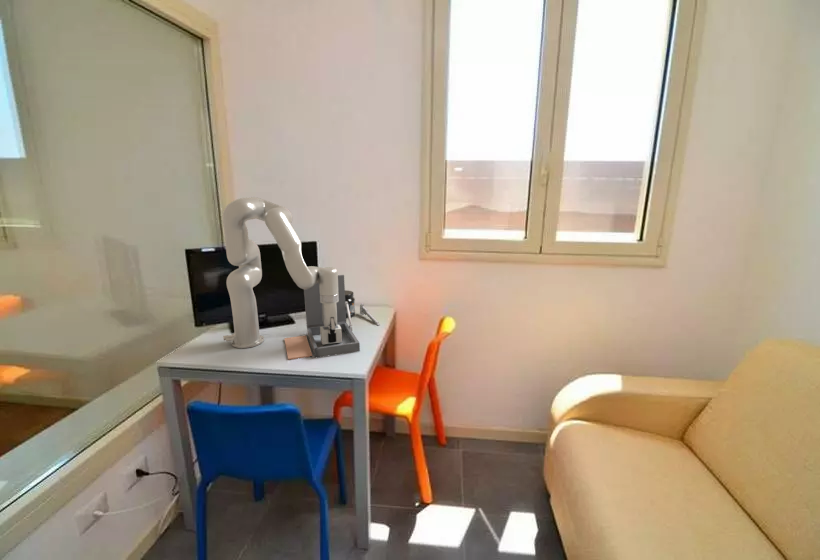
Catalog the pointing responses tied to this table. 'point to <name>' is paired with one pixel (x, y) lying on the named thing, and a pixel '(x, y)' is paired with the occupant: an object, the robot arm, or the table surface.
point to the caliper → (365, 311)
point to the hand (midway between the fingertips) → (331, 339)
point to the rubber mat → (297, 347)
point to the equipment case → (315, 322)
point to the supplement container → (350, 303)
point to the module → (325, 332)
